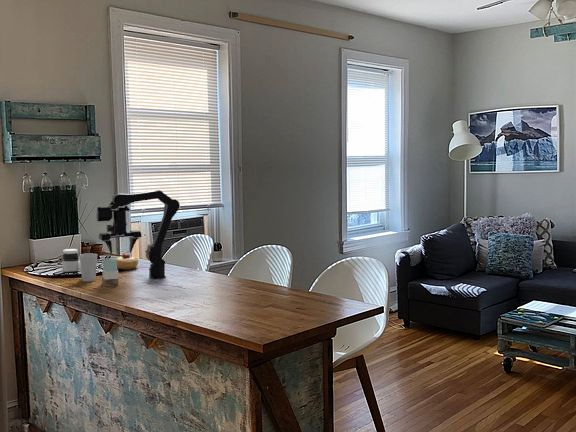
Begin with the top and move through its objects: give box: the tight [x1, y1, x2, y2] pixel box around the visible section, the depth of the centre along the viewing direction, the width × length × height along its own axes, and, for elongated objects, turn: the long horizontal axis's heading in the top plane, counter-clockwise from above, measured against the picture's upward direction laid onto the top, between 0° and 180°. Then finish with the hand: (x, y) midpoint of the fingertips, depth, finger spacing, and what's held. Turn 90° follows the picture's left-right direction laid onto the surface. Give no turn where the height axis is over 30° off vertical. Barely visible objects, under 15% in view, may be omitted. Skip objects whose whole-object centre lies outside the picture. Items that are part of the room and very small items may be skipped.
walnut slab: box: [101, 276, 119, 287], centre depth 283 cm, size 6×6×4 cm
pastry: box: [115, 250, 139, 271], centre depth 320 cm, size 12×12×9 cm
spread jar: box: [61, 248, 81, 274], centre depth 305 cm, size 12×11×12 cm
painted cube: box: [102, 257, 118, 272], centre depth 282 cm, size 5×5×5 cm
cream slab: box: [102, 268, 119, 280], centre depth 283 cm, size 6×6×4 cm
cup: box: [78, 252, 98, 282], centre depth 291 cm, size 8×8×12 cm
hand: (120, 253), depth 292 cm, fingers open, 9 cm apart
